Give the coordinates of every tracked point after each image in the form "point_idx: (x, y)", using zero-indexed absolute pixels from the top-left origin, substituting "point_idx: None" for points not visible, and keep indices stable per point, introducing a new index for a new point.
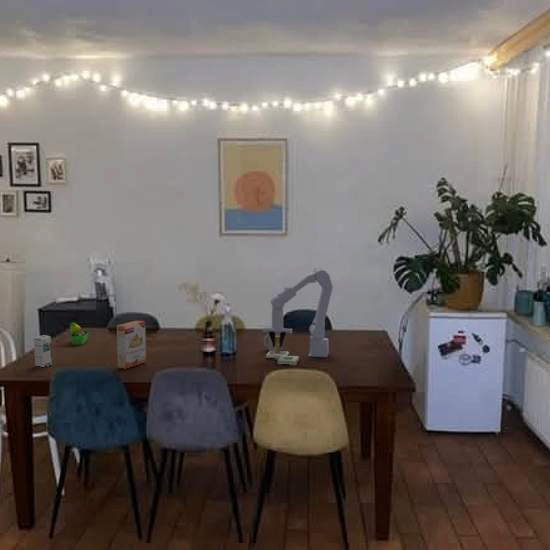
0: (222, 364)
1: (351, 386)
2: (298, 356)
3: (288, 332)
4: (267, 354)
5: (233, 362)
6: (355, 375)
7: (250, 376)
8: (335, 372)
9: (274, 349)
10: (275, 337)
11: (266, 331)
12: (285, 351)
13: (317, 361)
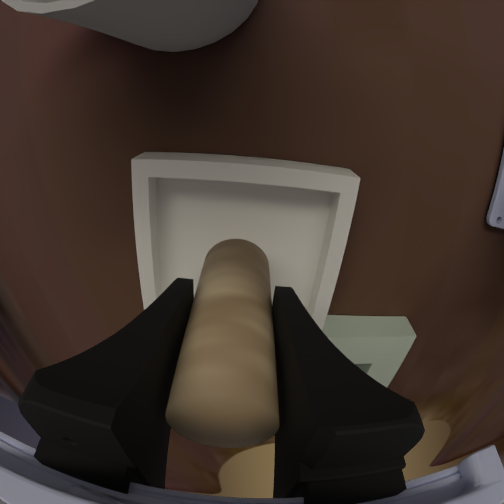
0: (18, 374)
1: (444, 463)
2: (413, 339)
3: (430, 489)
4: (148, 299)
5: (30, 357)
6: (498, 414)
7: (181, 472)
8: (470, 415)
9: (173, 49)
10: (194, 441)
11: (13, 455)
12: (320, 176)
13: (489, 317)
